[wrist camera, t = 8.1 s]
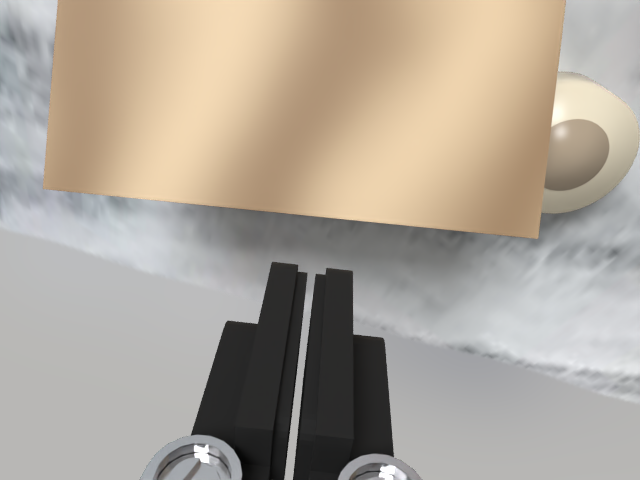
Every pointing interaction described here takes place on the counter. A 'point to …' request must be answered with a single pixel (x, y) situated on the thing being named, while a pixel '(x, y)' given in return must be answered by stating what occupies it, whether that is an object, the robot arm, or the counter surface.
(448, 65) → the tan wooden cover
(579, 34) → the counter surface
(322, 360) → the robot arm
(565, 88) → the cream short cylinder
